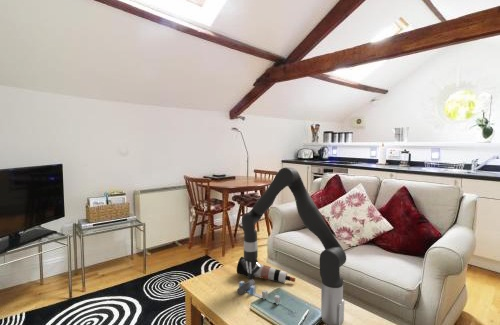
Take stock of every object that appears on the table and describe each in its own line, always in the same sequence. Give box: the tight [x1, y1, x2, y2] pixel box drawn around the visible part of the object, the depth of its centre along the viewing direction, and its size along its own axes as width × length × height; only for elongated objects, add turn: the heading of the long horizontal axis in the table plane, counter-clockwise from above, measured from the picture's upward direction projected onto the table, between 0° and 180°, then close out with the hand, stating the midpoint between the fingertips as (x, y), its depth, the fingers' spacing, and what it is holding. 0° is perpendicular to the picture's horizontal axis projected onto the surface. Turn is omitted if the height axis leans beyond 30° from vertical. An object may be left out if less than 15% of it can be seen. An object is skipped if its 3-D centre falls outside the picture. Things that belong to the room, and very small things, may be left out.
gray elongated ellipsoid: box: [236, 279, 256, 296], centre depth 146 cm, size 14×4×4 cm, turn 142°
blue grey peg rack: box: [238, 280, 281, 303], centre depth 141 cm, size 24×2×4 cm, turn 52°
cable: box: [236, 256, 296, 284], centre depth 158 cm, size 10×34×10 cm, turn 70°
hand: (250, 279), depth 148 cm, fingers closed
